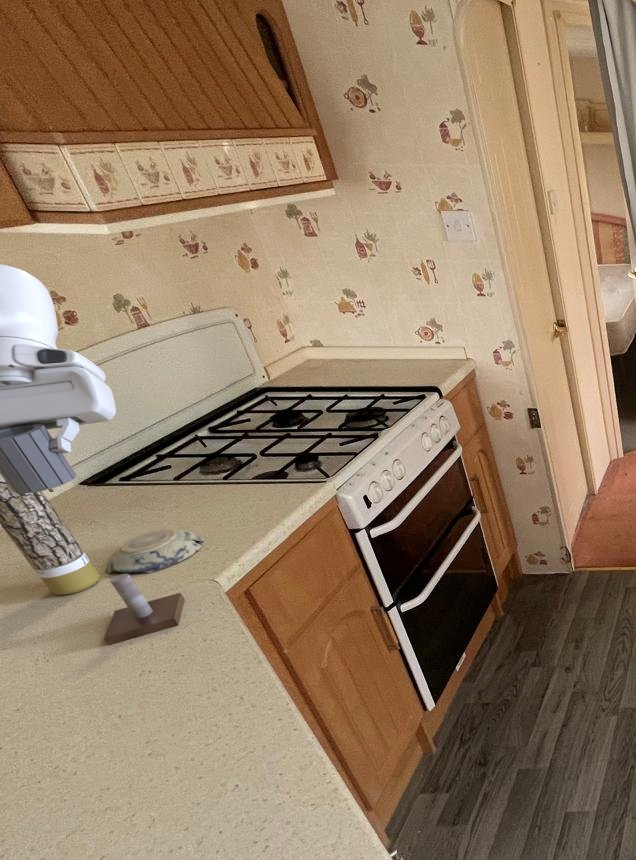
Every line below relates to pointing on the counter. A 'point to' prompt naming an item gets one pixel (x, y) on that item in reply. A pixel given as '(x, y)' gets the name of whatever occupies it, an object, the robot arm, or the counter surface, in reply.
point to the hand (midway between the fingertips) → (25, 457)
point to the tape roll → (31, 460)
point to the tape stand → (141, 612)
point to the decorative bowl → (153, 551)
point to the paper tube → (45, 541)
